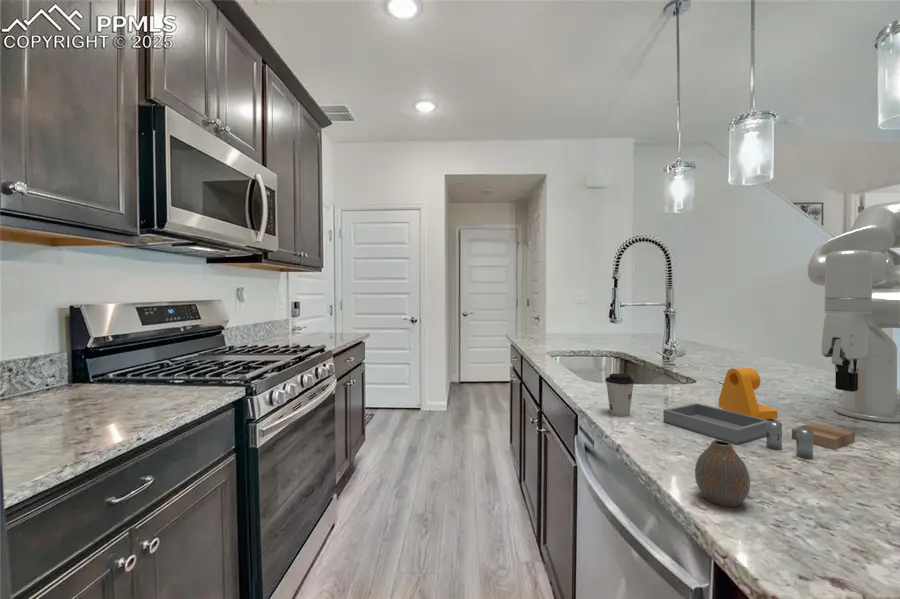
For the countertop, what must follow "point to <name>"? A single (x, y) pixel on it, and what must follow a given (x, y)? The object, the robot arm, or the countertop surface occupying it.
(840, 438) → the tan slab
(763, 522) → the countertop surface
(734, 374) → the bracket
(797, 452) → the peg
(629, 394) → the coffee cup
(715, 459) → the vase
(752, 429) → the tray
